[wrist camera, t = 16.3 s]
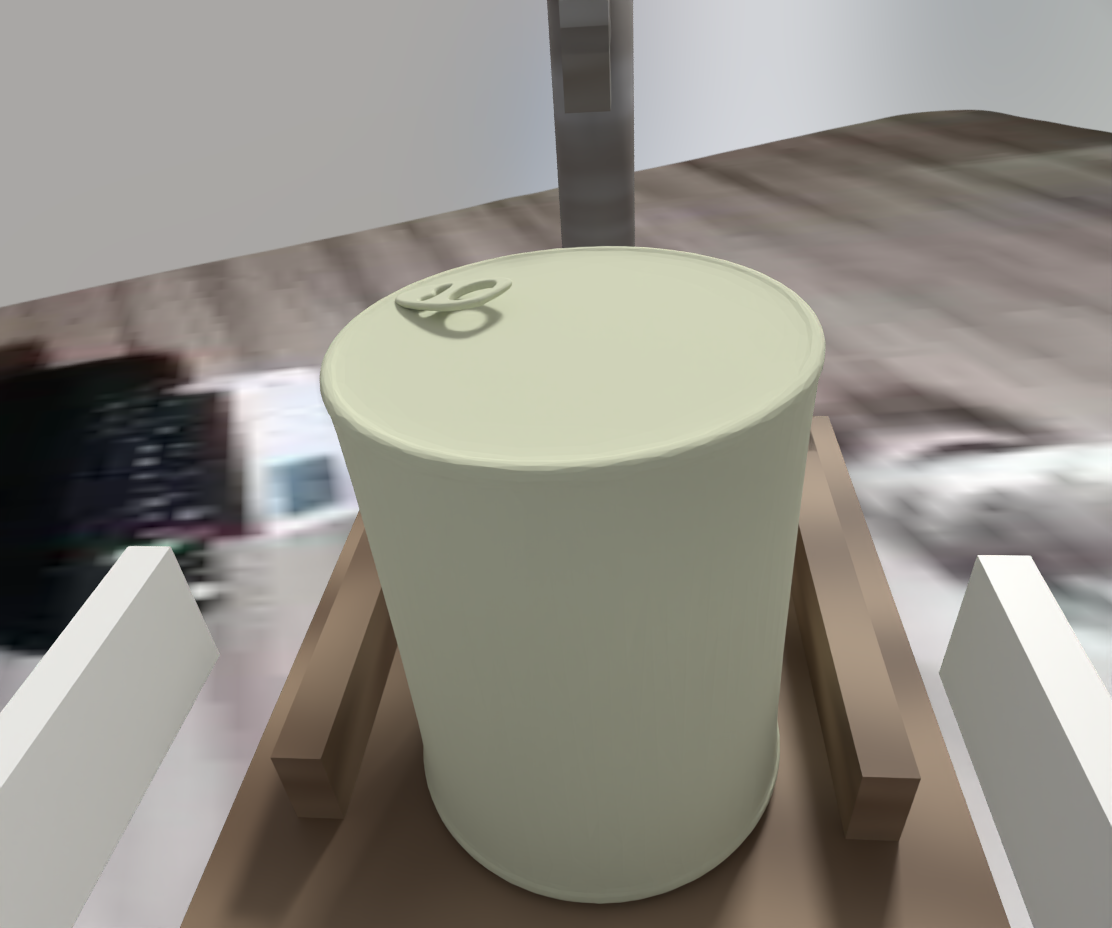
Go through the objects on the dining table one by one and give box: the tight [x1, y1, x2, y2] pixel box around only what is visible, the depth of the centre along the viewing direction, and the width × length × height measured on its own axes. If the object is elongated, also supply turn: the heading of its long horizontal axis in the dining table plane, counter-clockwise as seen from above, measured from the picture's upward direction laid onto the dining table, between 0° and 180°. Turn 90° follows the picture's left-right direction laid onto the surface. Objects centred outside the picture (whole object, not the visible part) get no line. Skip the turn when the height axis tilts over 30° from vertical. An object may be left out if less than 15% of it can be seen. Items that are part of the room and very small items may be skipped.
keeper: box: [180, 0, 1011, 928], centre depth 20 cm, size 23×18×17 cm
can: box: [320, 246, 825, 904], centre depth 18 cm, size 9×9×12 cm
